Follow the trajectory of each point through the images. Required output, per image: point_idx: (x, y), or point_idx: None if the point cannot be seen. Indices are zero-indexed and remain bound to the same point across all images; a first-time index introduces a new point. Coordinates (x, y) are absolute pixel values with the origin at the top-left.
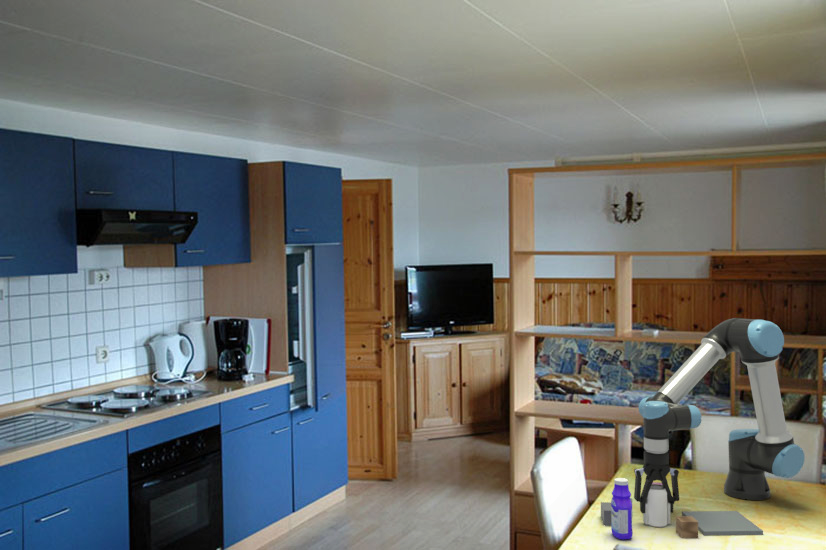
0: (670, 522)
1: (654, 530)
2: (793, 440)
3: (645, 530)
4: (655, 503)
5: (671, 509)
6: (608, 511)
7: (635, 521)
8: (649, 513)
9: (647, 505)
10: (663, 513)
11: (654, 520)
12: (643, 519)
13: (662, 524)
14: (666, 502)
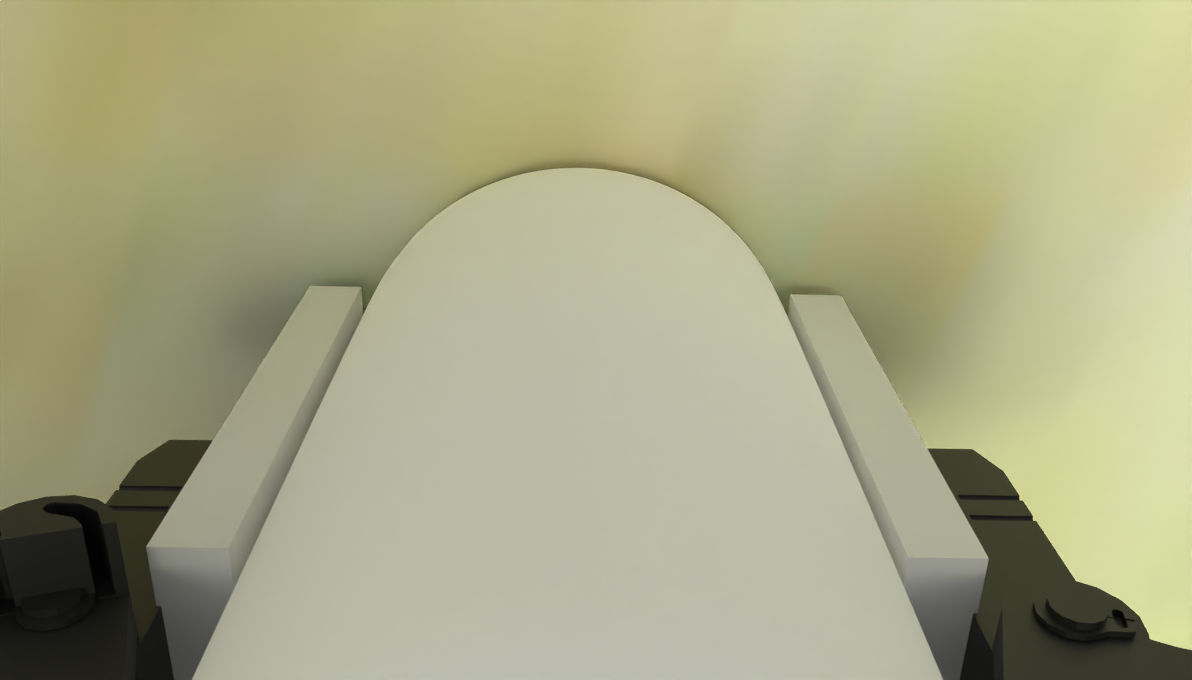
0: (301, 302)
1: (766, 8)
2: None
3: (968, 20)
4: (737, 439)
5: (170, 489)
6: None
7: None
8: (816, 389)
9: (918, 527)
10: (469, 286)
11: (707, 237)
12: None
13: (522, 184)
14: (281, 518)
